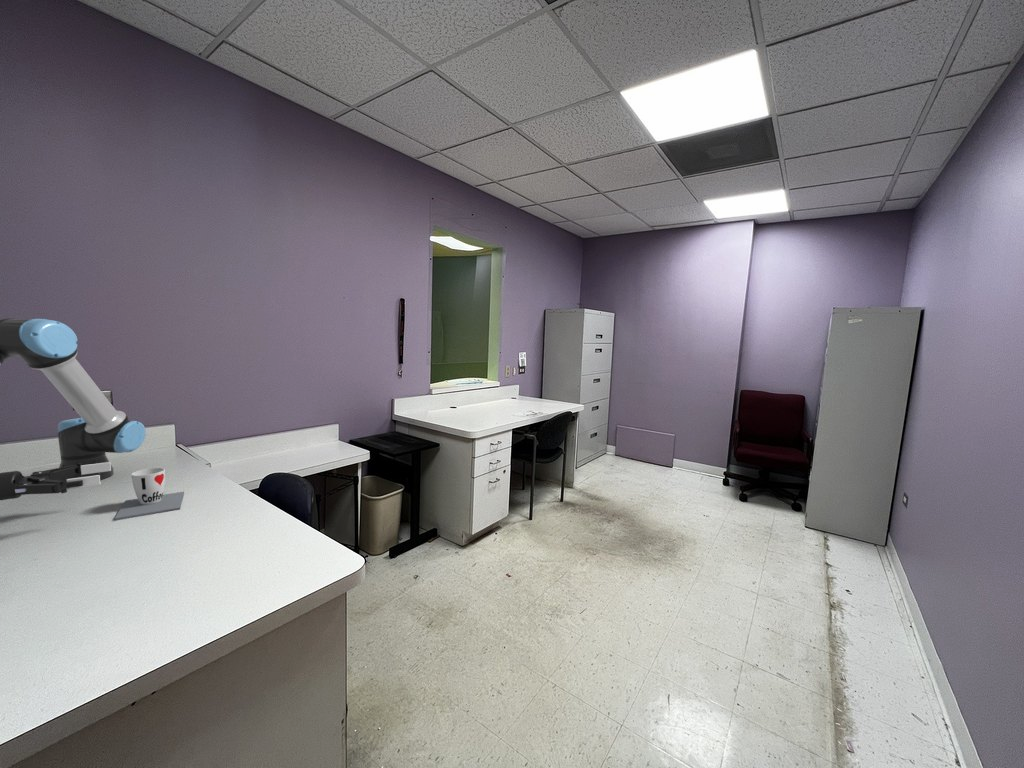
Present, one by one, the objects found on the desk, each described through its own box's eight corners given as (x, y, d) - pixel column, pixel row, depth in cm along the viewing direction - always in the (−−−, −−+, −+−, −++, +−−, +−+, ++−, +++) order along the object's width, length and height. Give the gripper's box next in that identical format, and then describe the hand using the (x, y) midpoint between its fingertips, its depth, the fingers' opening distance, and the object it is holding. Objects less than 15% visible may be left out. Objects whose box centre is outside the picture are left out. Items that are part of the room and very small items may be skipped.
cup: (137, 508, 128) (135, 477, 127) (130, 502, 133) (128, 472, 132) (170, 500, 135) (168, 470, 133) (162, 495, 139) (160, 466, 138)
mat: (125, 502, 134) (125, 500, 134) (184, 493, 143) (184, 491, 143) (114, 520, 121) (114, 518, 121) (180, 509, 130) (179, 507, 130)
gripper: (18, 485, 123) (115, 472, 135) (-23, 517, 103) (96, 499, 115) (15, 461, 122) (113, 450, 134) (-27, 488, 102) (93, 473, 114)
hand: (105, 472), depth 125 cm, fingers open, 13 cm apart
